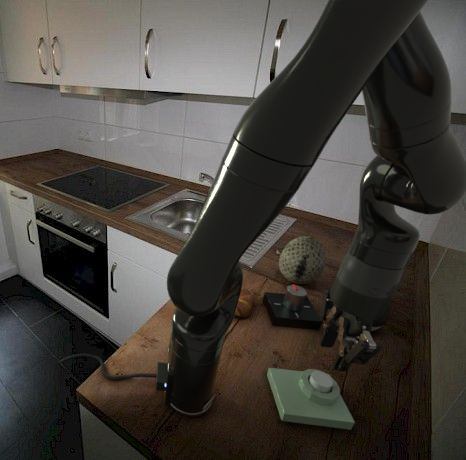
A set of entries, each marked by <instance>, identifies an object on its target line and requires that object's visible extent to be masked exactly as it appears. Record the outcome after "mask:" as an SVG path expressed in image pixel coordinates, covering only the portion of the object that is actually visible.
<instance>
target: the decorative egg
mask: <svg viewBox="0 0 466 460" xmlns="http://www.w3.org/2000/svg"><path fill="white" fill-rule="evenodd" d="M326 261H327V257H326V251H325V248H324V246H323V244H322V243H321V242H320V241H319V240H317V238H314V237H312V236H307V235H306V236H304V235H303V236H299V237H296V238H294V239H292V240H290V241H289V242H288V243H287V244H286V245H285V246H284V247H283V249H282V251H281V253H280V256H279V260H278V267H279V270H280V271H279V272H280V273H281V274H282V276H283V277H284V279H286V280H287V281H289V282H290V283H292V284H295V285H309V284H310V283H313V282H315V281H316V280H317V279H319V278H320V276H321V275H322V274H323V272H324V270H325V267H326Z"/></svg>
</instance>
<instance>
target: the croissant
mask: <svg viewBox="0 0 466 460" xmlns="http://www.w3.org/2000/svg"><path fill="white" fill-rule="evenodd" d="M255 305H256V299H255V298H254V297H253V295H252V294H251V292H250V291H249V289H247V288H245V287H242V288H241V293H240V296H239V300H238V304H237V308H236V311H235V315H234V317H240V318H247V317H249V316H250V315H251V314H252V311H253V310H252V307H255Z"/></svg>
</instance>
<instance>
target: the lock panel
mask: <svg viewBox="0 0 466 460" xmlns="http://www.w3.org/2000/svg"><path fill="white" fill-rule="evenodd" d="M285 294H286V293H283V292H282V293H281V292H269V291H267V292H266V291H264V294H263V297H262V302H263V305H264V308H265V310H266V313H267V314H268V317H269V320H270V322H271V325H272V327H279V328H290V329H291V328H292V329H299V330H310V331H320V330H321V326H322V325H323V320H321V319H320V314H319V313H318V311H317V310H316V308H315V307H314V305H313V303H312V302H311V300H310V299H309V297H308V295H306V297H305V300H304V303H303V306H302V309H301V310H300V311H291V310H289V309H287V308H286V307H284V305H283V301H284V297H285Z"/></svg>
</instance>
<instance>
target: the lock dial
mask: <svg viewBox="0 0 466 460" xmlns="http://www.w3.org/2000/svg"><path fill="white" fill-rule="evenodd" d="M284 294H285V297H284V301H283V305H284V307H286V308H287V309H289V310H291V311H300V310H301V309H302V306H303V303H304V300H305V297H306V296H307V294H308V293H307V290H306V289H305V288H303V287H302V286H299V285H297V284H296V283H292V284H291V285H288V286H287V288H286V291H285V293H284Z"/></svg>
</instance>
